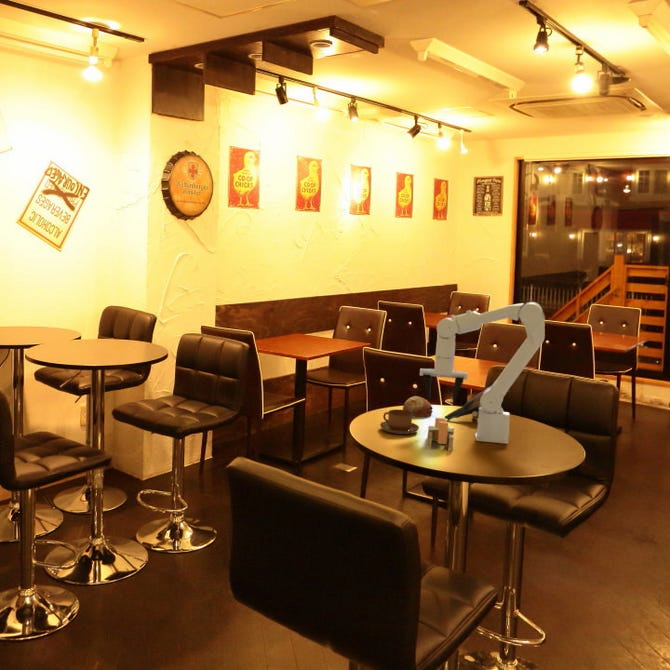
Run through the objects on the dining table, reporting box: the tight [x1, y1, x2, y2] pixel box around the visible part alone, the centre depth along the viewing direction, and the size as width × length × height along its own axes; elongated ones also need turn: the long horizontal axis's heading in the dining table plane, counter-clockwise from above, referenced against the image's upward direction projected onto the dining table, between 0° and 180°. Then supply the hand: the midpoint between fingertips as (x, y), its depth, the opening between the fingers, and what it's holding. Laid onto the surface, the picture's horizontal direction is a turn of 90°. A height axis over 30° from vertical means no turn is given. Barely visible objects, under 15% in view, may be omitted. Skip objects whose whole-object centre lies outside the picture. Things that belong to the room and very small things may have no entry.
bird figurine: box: [443, 389, 511, 422], centre depth 241 cm, size 13×10×20 cm
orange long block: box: [434, 417, 449, 445], centre depth 211 cm, size 2×8×6 cm, turn 1°
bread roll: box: [402, 395, 433, 418], centre depth 248 cm, size 10×10×8 cm
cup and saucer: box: [379, 409, 420, 435], centre depth 224 cm, size 12×12×6 cm
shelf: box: [426, 424, 455, 452], centre depth 212 cm, size 7×12×5 cm, turn 170°
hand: (441, 400), depth 224 cm, fingers open, 7 cm apart
